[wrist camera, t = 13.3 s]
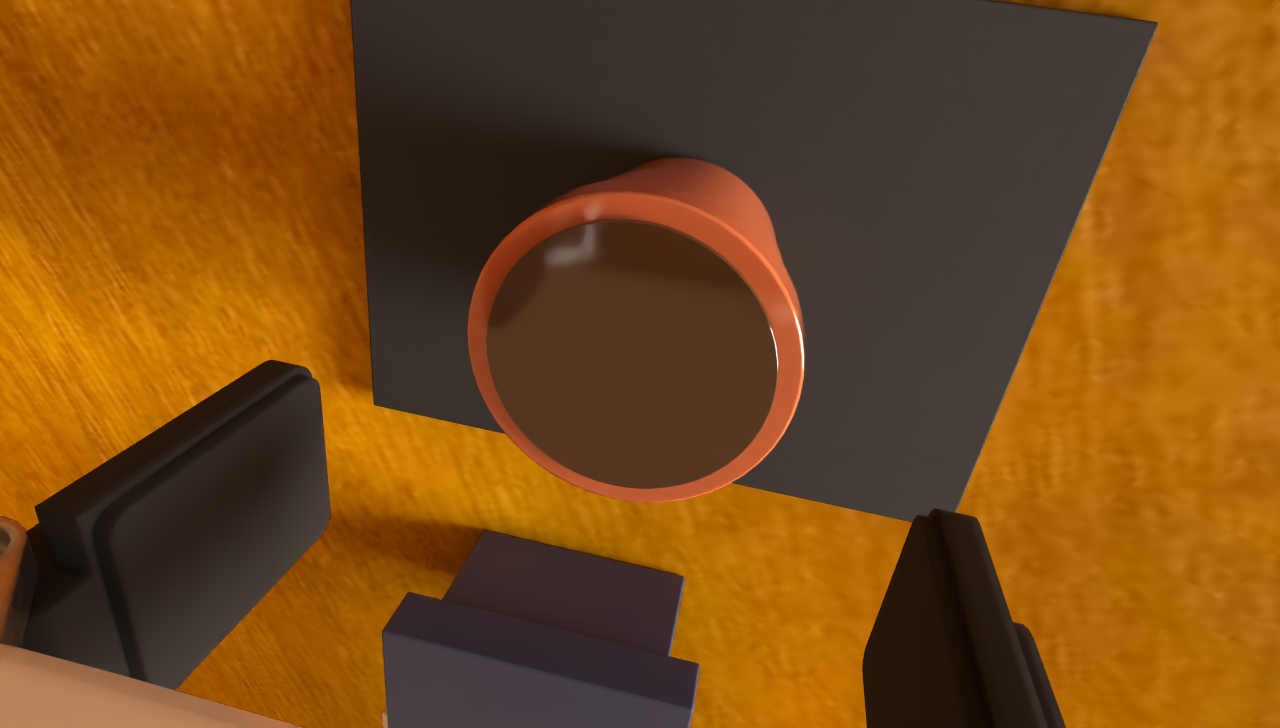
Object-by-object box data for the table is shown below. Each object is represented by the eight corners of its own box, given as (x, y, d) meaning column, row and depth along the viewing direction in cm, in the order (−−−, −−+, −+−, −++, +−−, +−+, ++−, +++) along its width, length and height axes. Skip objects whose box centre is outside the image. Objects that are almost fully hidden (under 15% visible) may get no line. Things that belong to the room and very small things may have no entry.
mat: (1149, 21, 17) (1160, 22, 16) (945, 519, 24) (948, 530, 23) (356, -85, 19) (344, -87, 19) (381, 397, 26) (373, 405, 26)
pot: (829, 152, 19) (845, 230, 13) (774, 383, 22) (764, 538, 16) (573, 111, 20) (464, 163, 13) (555, 339, 23) (462, 470, 17)
